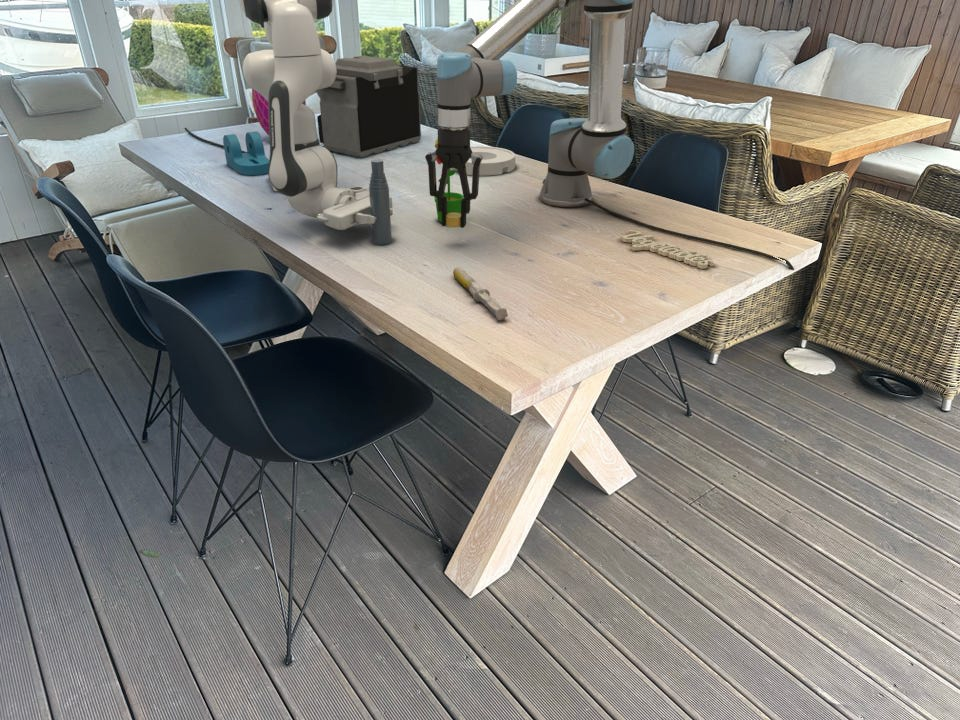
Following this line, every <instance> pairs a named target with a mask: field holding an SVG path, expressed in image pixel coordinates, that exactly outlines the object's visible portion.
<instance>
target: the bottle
mask: <svg viewBox="0 0 960 720" xmlns="http://www.w3.org/2000/svg"><path fill="white" fill-rule="evenodd" d="M370 165H371V166H370V167H371V173H370V177H369V184H368V190H369V198H370V212H371V214H373V215H376V216H377V222H375V223H373V224H371V223H370V224H371V239H372V244H374V245H379V246H384V245H385V246H386V245H390V244H391V243H392V242H393V237H392V220H391V219H392V218H391V216H390V200H389V195H390V187H389V183H388V180H387V177H386V173H385V171H384V170H385V169H384V168H385V167H384V160H383V159H380V158H374V159H371V160H370Z"/></svg>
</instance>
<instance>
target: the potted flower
mask: <svg viewBox="0 0 960 720" xmlns="http://www.w3.org/2000/svg"><path fill="white" fill-rule="evenodd" d="M437 147H438V138H437V139H436V141H435V143H434V148H435V149H437ZM435 162H436V163H437V164H438V165H442V162H441V161H440V159H439V158H438V156H437V157H436V161H435ZM456 173H457V171H456V170H450V169H449V173H448V178H447V183H446V185H447V191H445V193H444V194H445V195H444V197H447V214H448V213H460V214H461V201H462V199H463V198H464V196H463V193H459V192H455V191H454V192H453V191H452V192H451V177H452V176H454V175H455V174H456ZM440 179H441V177H440V178H438V180H437V181H438V183H440ZM433 198H434V199H433V200H434V202H435V208H436V214H437V221H438V222H439V223H441V224H442V212H438V200H437V198H436V197H434V196H433Z"/></svg>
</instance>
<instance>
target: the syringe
mask: <svg viewBox="0 0 960 720" xmlns="http://www.w3.org/2000/svg"><path fill="white" fill-rule="evenodd" d="M452 274H453V277H454V279H455V280H457V281H458V282H459V283H460V285H462V287H464V289H466V290H467V291H468V293H470V295H471V296H472V298H473V300H474V302H477V303H478V302H480V303H482V304H483V305H484V306H485V307H486V308H487V309H488V310H489V311H490V312H491V313H492V314H493V315H494V316H495V317H496V320H497V321H503V320H504V319H506V318H507V317H509V314H508V310H507V308H506V307H502V306H501V305H500V303H498V302H497V301H496V300H494V299H493V298H492V297H491V296H490V295H491V293H490V290H488V289H486V288H483V287H482V286H481V285H480V284H479V283H478V282H477V281H476V280H474V278H473V277H471V275H469V274H468V273H467V272H466V270H465V269H464V268H463V267H462V266H456V267H454V268H453V271H452Z"/></svg>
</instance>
